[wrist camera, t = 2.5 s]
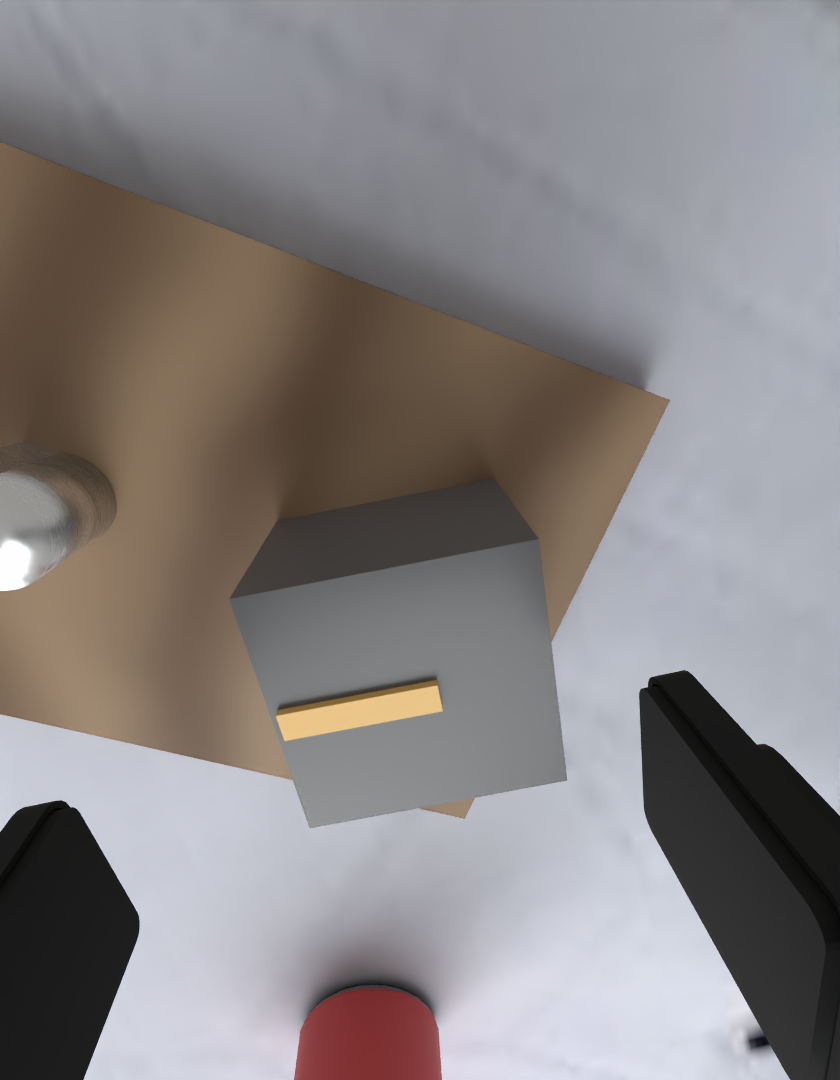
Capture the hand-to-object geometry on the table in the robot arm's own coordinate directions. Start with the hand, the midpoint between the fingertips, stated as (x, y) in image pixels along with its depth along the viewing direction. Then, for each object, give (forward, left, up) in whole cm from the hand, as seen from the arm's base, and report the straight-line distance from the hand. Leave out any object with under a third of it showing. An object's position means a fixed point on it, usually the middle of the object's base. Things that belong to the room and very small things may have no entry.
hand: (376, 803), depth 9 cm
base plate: (+4, 0, -10) cm, 11 cm away
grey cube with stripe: (-1, 0, -8) cm, 8 cm away
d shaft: (+9, 0, -8) cm, 12 cm away
